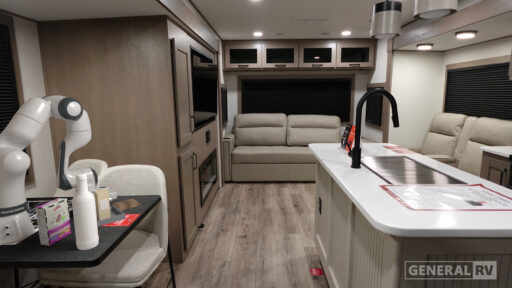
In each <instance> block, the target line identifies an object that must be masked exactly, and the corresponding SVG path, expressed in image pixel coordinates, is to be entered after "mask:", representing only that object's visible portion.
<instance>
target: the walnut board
mask: <svg viewBox="0 0 512 288" xmlns="http://www.w3.org/2000/svg"><path fill="white" fill-rule="evenodd" d="M113 205H114V206H115V207H117V208H118V209H119V210H121V211H122V212H123V211H125V210H128V209H132V208H135V207H136V208H137V207H141V206H140V205H142V206H143V204H142V203H141V202H139V201H137V200H136V199H135V198H128V199H125V200H122V201H117V202H113V203H111V204H110V206H113Z"/></svg>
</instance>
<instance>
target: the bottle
mask: <svg viewBox="0 0 512 288" xmlns="http://www.w3.org/2000/svg"><path fill="white" fill-rule="evenodd" d="M76 183H77V193H76V192H75V194H74V196H73V197H72V199H73V200H72V199H71V200H72V203H71V204H72V213H73V223H74V232H75V244H76V249H77V250H80V251H87V250H91V249H94V248H95V247H97V246H98V245H99V243H100V242H99V239H100V238H99V231H98V227H97V217H96V206H95V198H94V196H93V194H92V193H91V192H89V191H88V185H87V175H86V174H77V175H76Z"/></svg>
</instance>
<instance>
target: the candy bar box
mask: <svg viewBox="0 0 512 288" xmlns="http://www.w3.org/2000/svg"><path fill="white" fill-rule="evenodd" d="M34 209H35V215H36V222H37V228H38V229H37V230H38V235H39V242H40V245H41V246H48V247H50V246H52V245H54V244H56V243H58V242H59V241H61V240H62V239H63V238H66V237H67V236H69V235H70V234H72V232H73V231H72V225H71V218H70V210H69V202H68V198H61V197H58V198H56V199H55V198H54V199H53V200H51V201H49V202H46V203H44V204H43V203H42V204H41V205H38V206H37V207H35V208H34Z"/></svg>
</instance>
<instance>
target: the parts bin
mask: <svg viewBox="0 0 512 288" xmlns="http://www.w3.org/2000/svg"><path fill="white" fill-rule="evenodd" d="M110 215H111V217H110V218H106V219H103V220H98V219H97V228H98V227H101V226H105V225H108V224H111V223H115V222H118V221H122V220H126V213H125V212H123V210H122V211H121V210H119V209H118V208H117V207H115V206H114V205H113V206H112V205H110Z"/></svg>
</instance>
